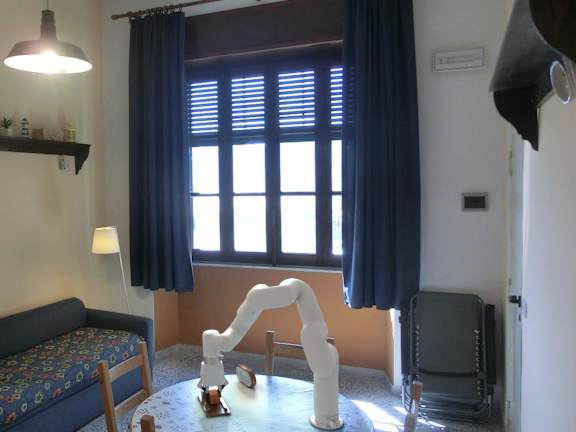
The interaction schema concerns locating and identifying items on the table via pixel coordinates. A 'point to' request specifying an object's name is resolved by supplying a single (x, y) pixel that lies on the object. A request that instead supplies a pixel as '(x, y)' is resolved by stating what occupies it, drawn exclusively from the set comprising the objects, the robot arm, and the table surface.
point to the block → (214, 397)
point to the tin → (246, 375)
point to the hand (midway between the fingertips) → (213, 400)
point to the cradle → (213, 406)
